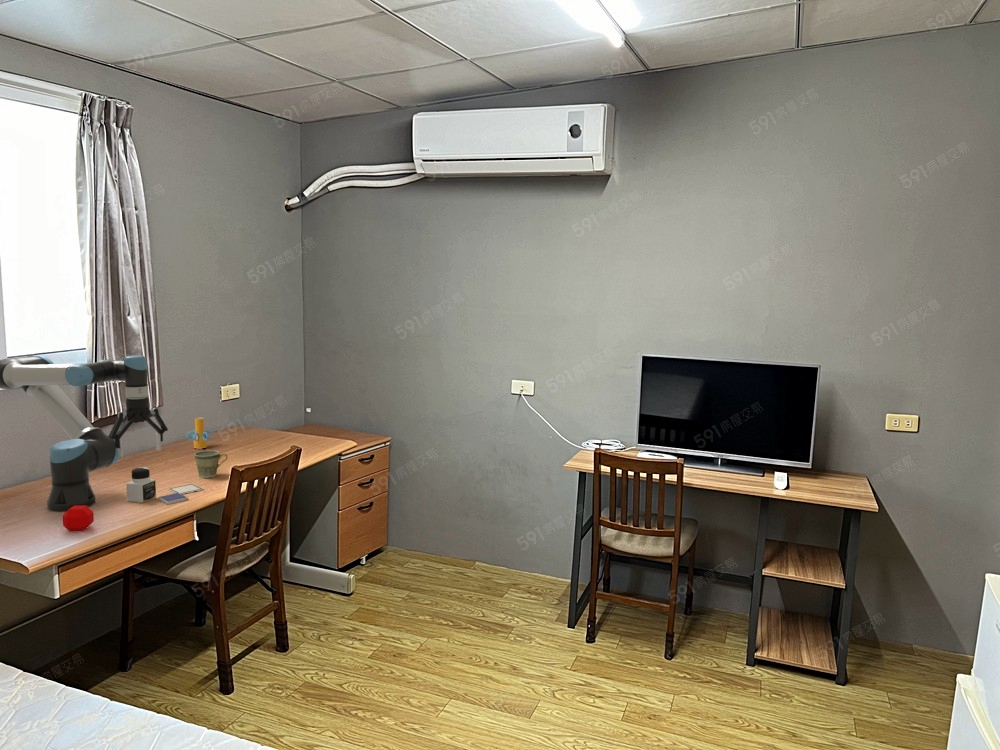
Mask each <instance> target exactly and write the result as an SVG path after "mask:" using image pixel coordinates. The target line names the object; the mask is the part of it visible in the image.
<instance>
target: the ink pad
mask: <svg viewBox="0 0 1000 750" xmlns="http://www.w3.org/2000/svg"><path fill="white" fill-rule="evenodd" d="M187 499H188V500H189V497H188V496H187V495H185V494H183V495H182V494H180V493H171V494H165V495H161V496H158V497H157V501H159V500H160V502H162V503H163V504H165V505H171V504H176V503H180V501H181V502H185V501H184V500H186V501H188V500H187Z"/></svg>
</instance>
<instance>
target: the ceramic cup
mask: <svg viewBox="0 0 1000 750" xmlns="http://www.w3.org/2000/svg"><path fill="white" fill-rule="evenodd" d="M220 452H221V451H218V450H211V449H210V450H201V451H200V450H199V451H197V452H195V453H194V454H193V455H194V460H195V463H196V467H197V473H198V477H199V478H200V477H202V479H212V478H215V477H214V476H216V477H217V473H218V469H219V467H220V466H221V465H223V463H224V462H225V461H227V460H228V455H227V454H226V453H220ZM223 456H224V457H225V459H224V460H222V461H221V463H220V464H219V461H220V460H221V458H222V457H223ZM209 477H210V478H209ZM211 477H212V478H211Z"/></svg>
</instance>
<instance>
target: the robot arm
mask: <svg viewBox="0 0 1000 750" xmlns="http://www.w3.org/2000/svg"><path fill="white" fill-rule="evenodd" d="M147 361H148V360H147V358H146V356H145V355H144V356H143V355H126V356H124V358H123V360H119V359H118V360H114V359H110V358H109V359H100V360H98V361H97V362H90V363H64V364H62V363H60V364H59V363H58V364H54V362H53V361H52V359H50V358H48V357H46V356H44V355H39V354H38V355H35V354H34V355H32V354H31V355H26V356H20V357H9V358H3V359H0V389H1V390H17V389H22V390H23V392H24V393H26V395H27V396H30V397H35V398H36V400H37V401H38V403H40V404H41V405H42V407H43V408H44V409H45V410H46V412H48V414H49V415H50V416H51V417H52V418H53V420H54V422H56V423H57V424H58V425H59V427H60V428H61V429H62V430H63V431H64V432H65V434H66V435H67V436H68V437H69V438H70V439H68V440H67V439H66V440H63V441H62V440H61V441H59V442H57V443H54V444H53V445H52V446H51V448H50V450H49V464H50V476H51V489H50V492H49V496H48V498H47V503H46V504H47V509H48V510H49V511H53V512H67V511H68V510H69V509H70V508H72V507H73V506H85V505H86V506H88V507H89V508H90V507H92V506H93V505H95V504H96V495H95V492H94V491H93V488H92V485H91V484H90V477H89V476H90V475H89V473H90V472H93V471H96V470H100V469H102V468H107V467H110V466H111V465H113V464H116V463H117V462H118V461H119V460H120V458H123V457H124V445H123V444H124V443H123V439H122V437H123V435H125V433H126V432H127V430H128V429H129V428H130V426H132V425H133V423H134V424H137V423H144V422H146V423H147V424H148V425H149V426H150V427H152V428H153V429H154V430H155V431H156V433H154V434H155V437H154V438H155V450H156V451H158V452H161V451H162V442H163V441H164V435H163V434H164V433H165V432H168V427H167V425H166V424H165V422H164V420H163V419H162V416H161V415H160V413H159V409H158V408H156V407H152V408H150V399H149V383H148V382H149V381H148V369H149V367H148V362H147ZM111 381H112V382H114V381H122V382H124V387H125V397H126V399H125V407H126V408H125V409H126V411H125V412H124V411H123V412H121V411H118V412H117V413H116V419H115V421H114V424H113V426H112V427H111V431H110V432H109V433H107V434H106V433H105V432H104V431H103V430H102V428H100V427H94V426H93V424H92V423H91V422H90V421H89V420H88V419H87V417H86V416H85V415H84V414H83V413H82V412H81V411H80V409H79V408H78V407H77V406H76V405H75V404H74V402H73V401H72V400H71V398H70V397H68V395H67V394H66V393H65V391H63V390H62V388H61V387H60V386H72V387H85V386H88V385H93V384H99V383H101V384H102V383H106V382H107V383H108V382H111ZM150 414H151V415H153V417H154V418H155V420H156V422H157V424H158V425H159V426H158V425H157V424H156V423H155V422H154V421H153V420H152V418H150V417H149V415H150ZM125 417H127V419H126V420H124V419H125ZM123 421H125V422H124V423H123V424H122V422H123ZM121 425H122V426H121Z"/></svg>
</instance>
